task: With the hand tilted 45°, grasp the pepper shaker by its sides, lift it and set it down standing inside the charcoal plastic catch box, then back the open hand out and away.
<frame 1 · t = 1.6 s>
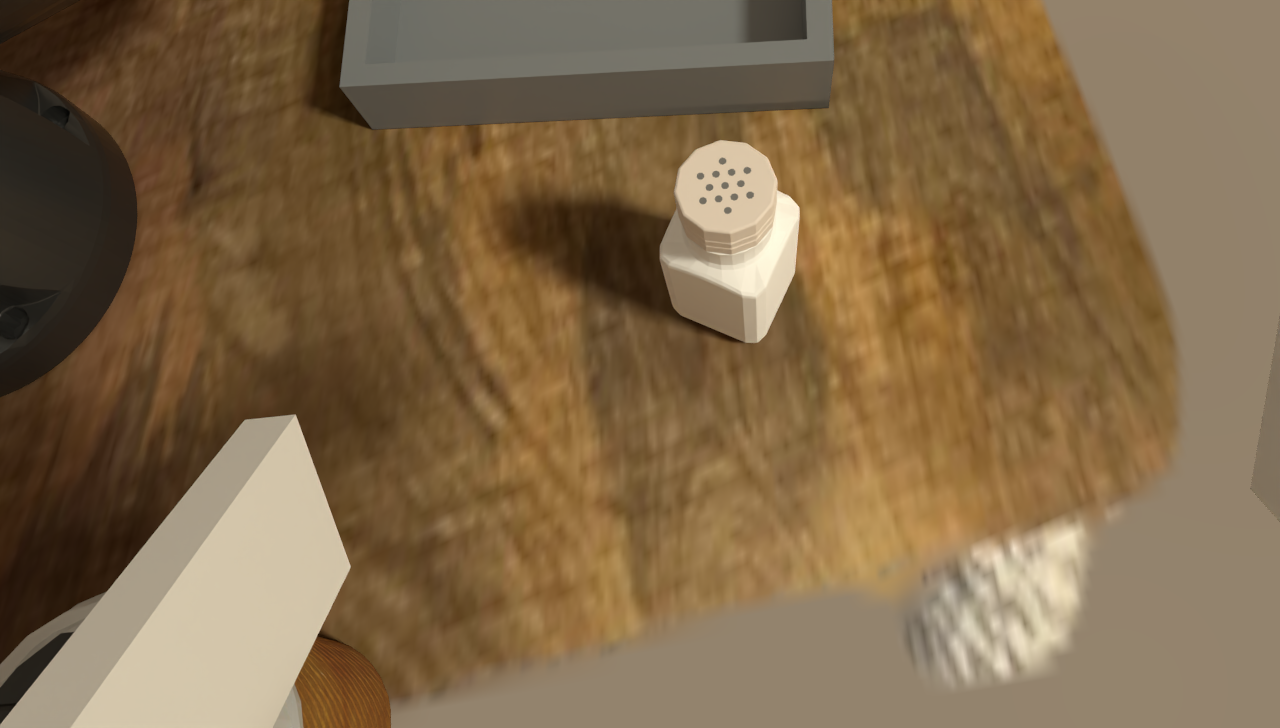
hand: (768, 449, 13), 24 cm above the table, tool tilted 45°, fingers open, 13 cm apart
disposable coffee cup: (314, 725, 37), on the table
pepper shaker: (734, 291, 39), on the table
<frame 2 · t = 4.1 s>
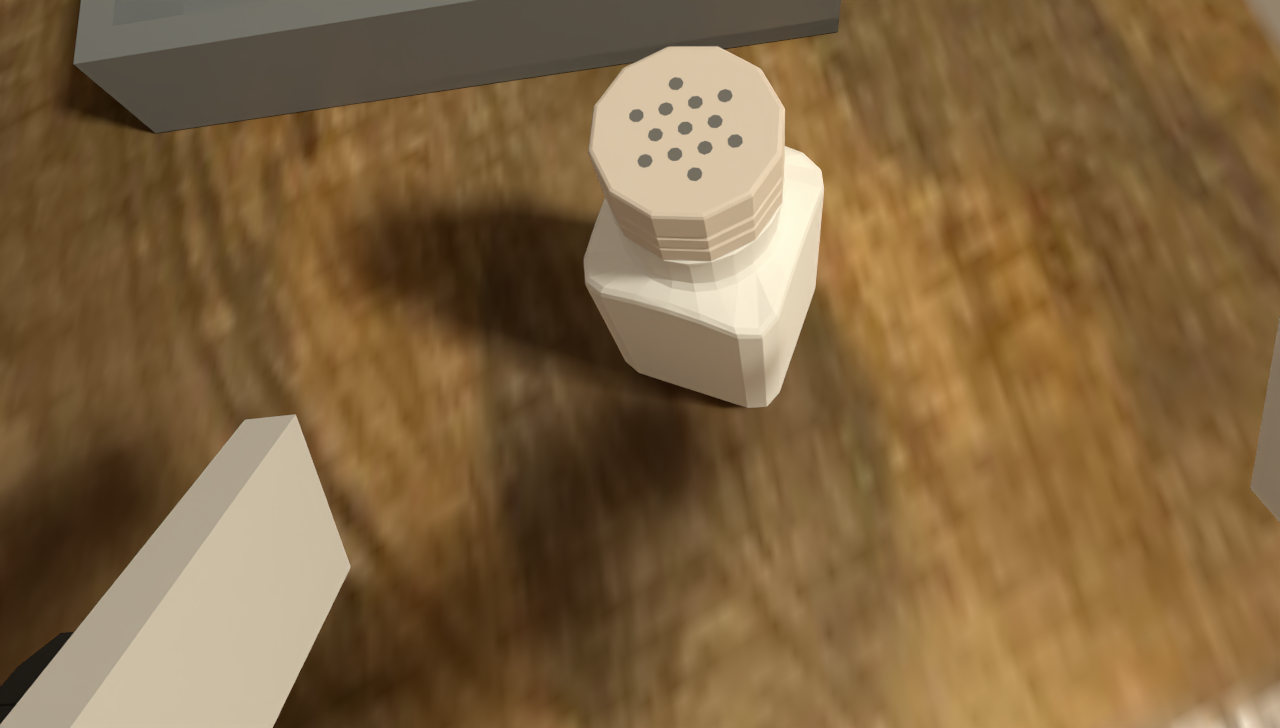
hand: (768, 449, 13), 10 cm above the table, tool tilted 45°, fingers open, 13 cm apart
pepper shaker: (721, 326, 25), on the table
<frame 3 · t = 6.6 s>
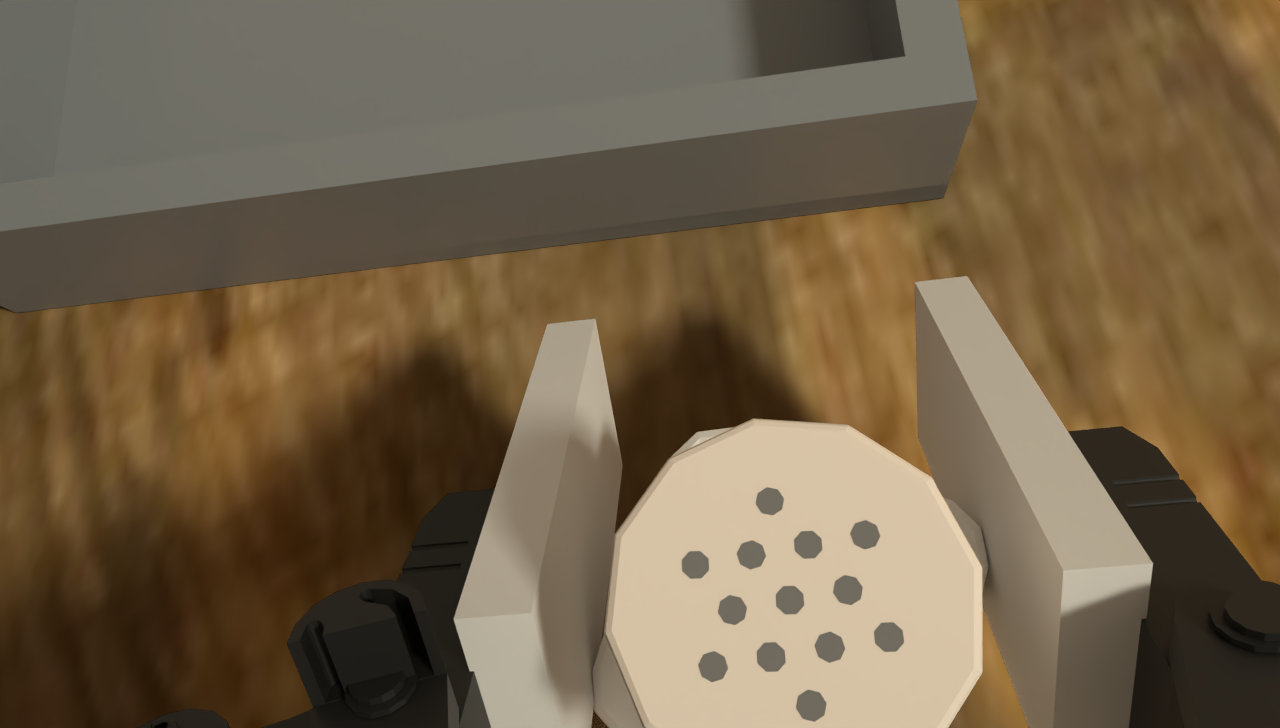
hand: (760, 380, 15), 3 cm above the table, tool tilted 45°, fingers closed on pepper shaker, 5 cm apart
pepper shaker: (786, 634, 17), on the table, touching gripper
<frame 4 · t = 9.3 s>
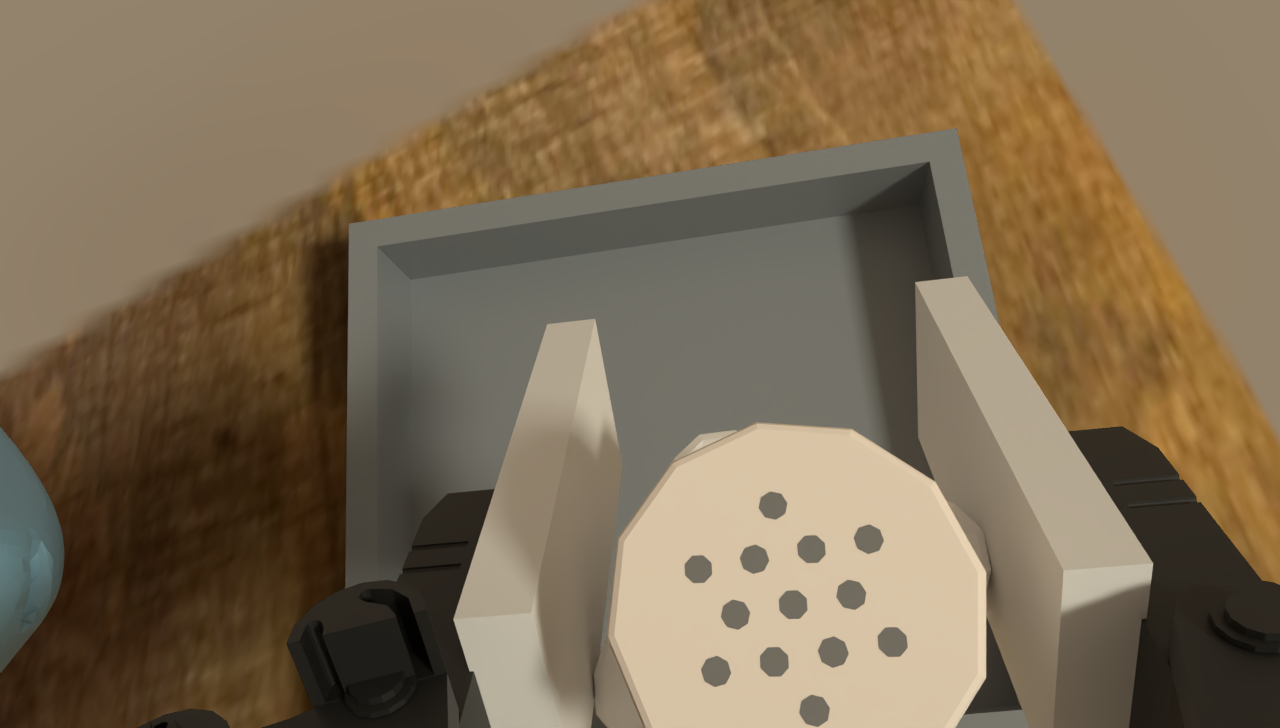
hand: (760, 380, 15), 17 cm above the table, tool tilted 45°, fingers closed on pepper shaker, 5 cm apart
pepper shaker: (787, 636, 17), point 13 cm above the table, touching gripper
catch box: (681, 470, 32), on the table
when the fingers open (5 cm above the table, at t = 12.1 s): pepper shaker drops 1 cm, resting on catch box.
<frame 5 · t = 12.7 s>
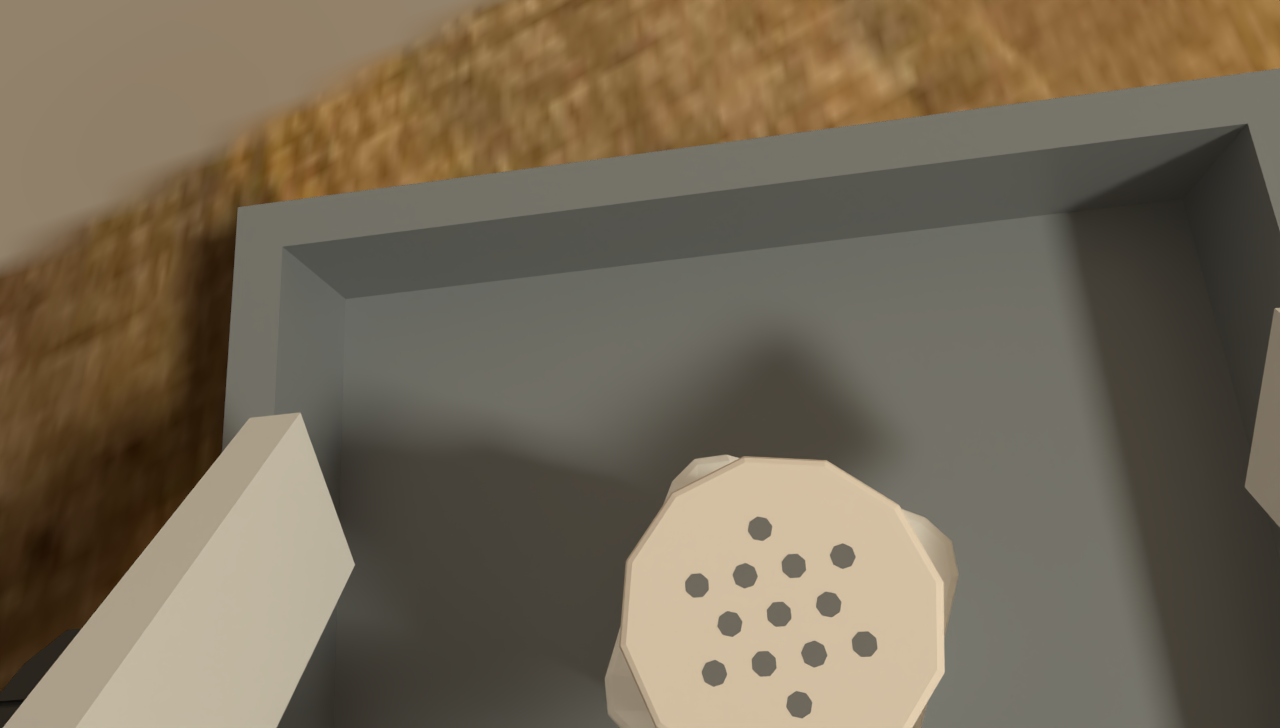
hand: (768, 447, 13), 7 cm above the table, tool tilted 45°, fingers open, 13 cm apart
pepper shaker: (780, 638, 19), resting on catch box
catch box: (786, 636, 19), on the table
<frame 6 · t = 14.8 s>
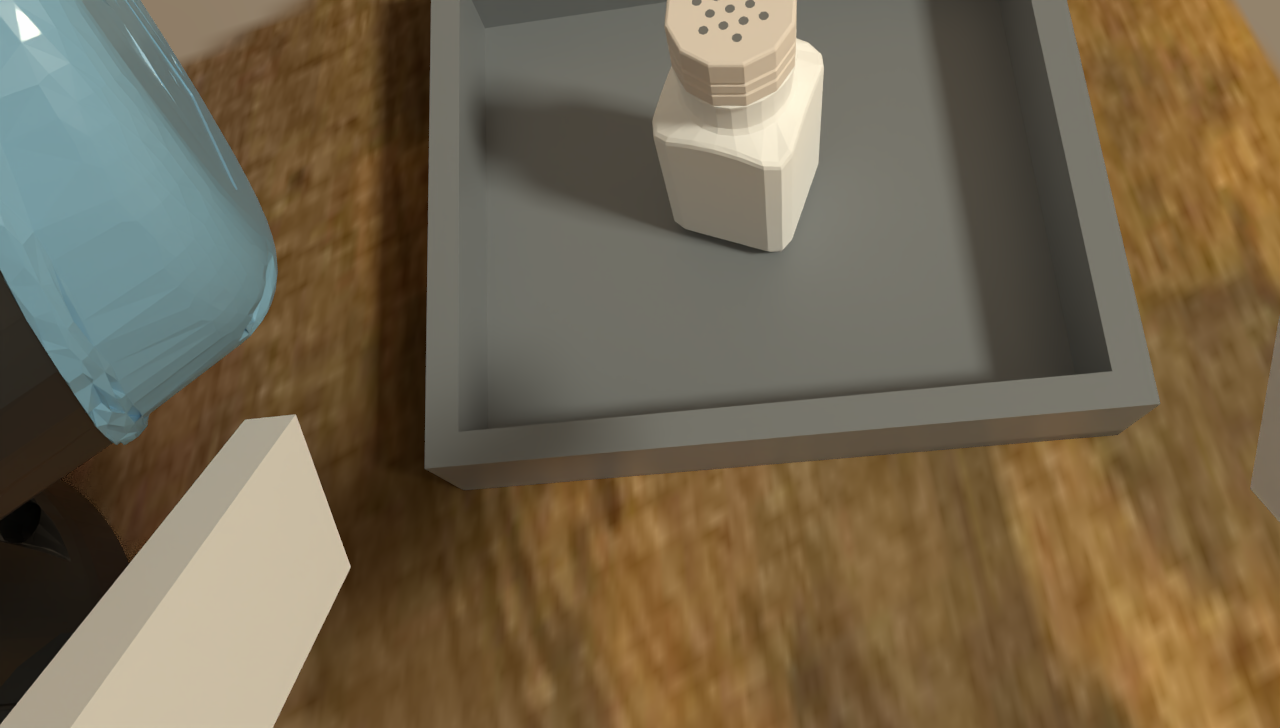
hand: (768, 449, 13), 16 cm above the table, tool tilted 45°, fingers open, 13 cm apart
pepper shaker: (746, 197, 32), resting on catch box
catch box: (750, 201, 32), on the table
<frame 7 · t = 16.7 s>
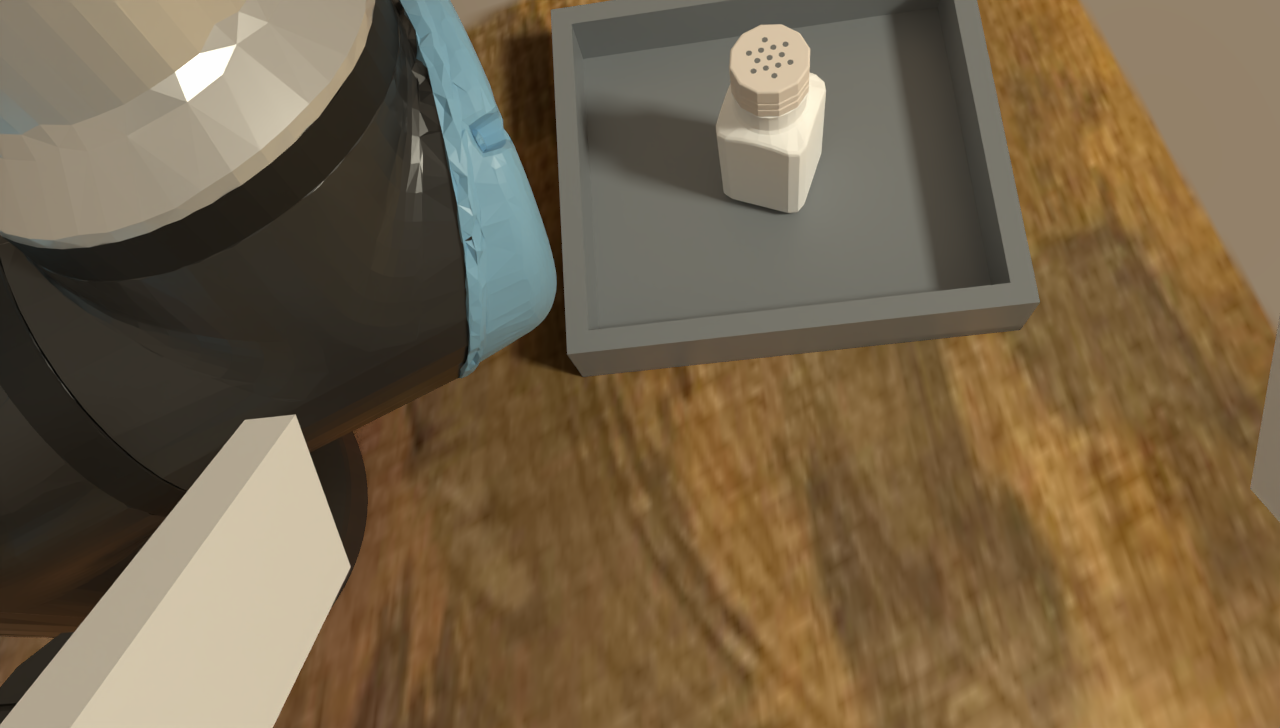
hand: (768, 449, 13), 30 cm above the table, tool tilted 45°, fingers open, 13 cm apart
pepper shaker: (772, 176, 47), resting on catch box
catch box: (774, 179, 47), on the table
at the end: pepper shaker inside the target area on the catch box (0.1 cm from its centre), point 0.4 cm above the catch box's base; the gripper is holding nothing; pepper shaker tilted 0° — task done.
